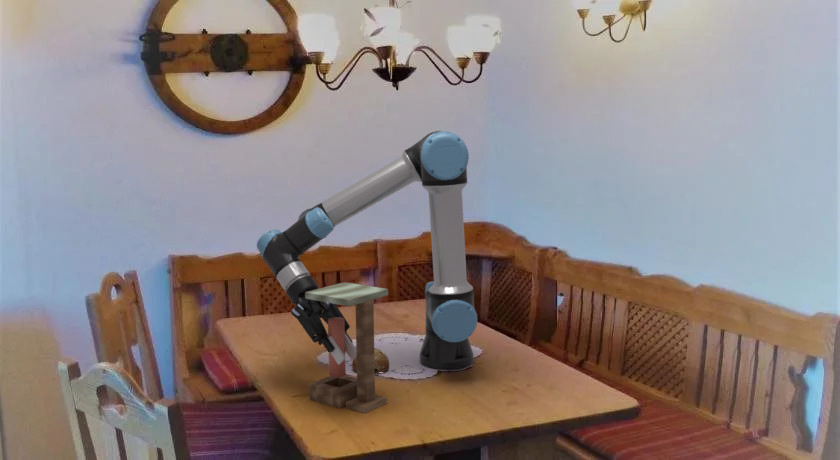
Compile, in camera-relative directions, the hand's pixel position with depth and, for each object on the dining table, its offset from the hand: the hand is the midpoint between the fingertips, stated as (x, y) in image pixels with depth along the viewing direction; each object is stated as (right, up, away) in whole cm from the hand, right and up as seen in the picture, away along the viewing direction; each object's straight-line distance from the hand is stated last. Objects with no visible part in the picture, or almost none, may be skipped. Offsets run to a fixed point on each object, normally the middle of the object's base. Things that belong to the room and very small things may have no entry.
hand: (348, 358), depth 194 cm
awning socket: (0, -11, +2) cm, 11 cm away
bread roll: (+4, -7, +26) cm, 27 cm away
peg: (-3, -4, +3) cm, 6 cm away
